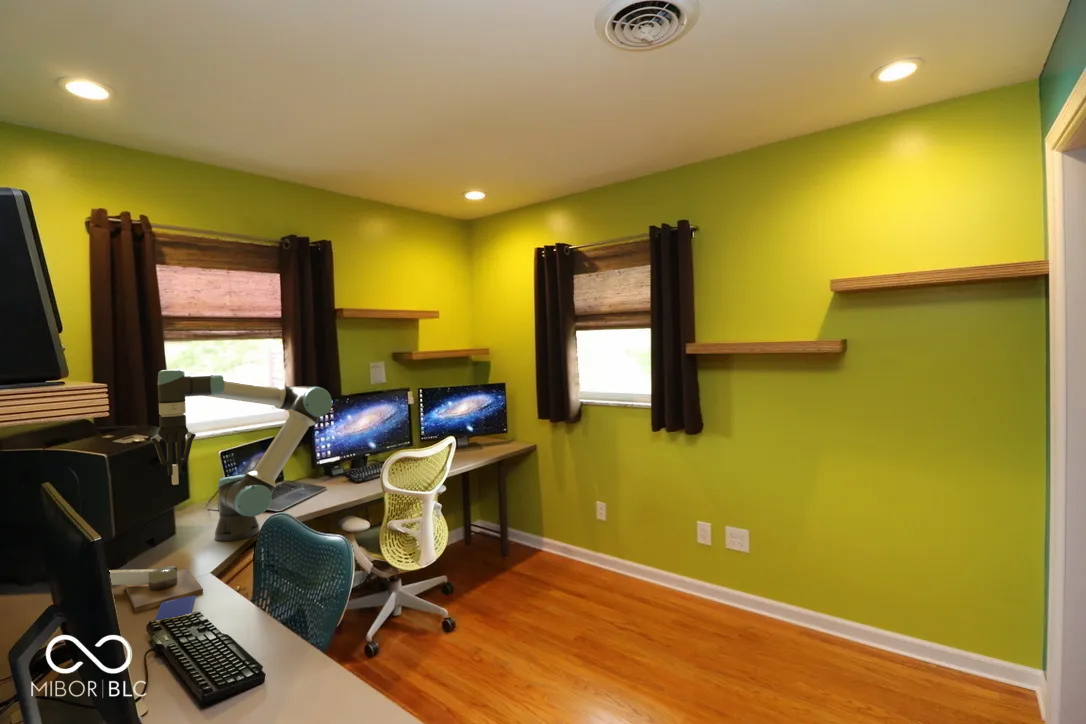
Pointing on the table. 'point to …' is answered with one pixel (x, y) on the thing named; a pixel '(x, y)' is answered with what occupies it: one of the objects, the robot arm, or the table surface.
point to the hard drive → (176, 607)
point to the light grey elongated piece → (146, 577)
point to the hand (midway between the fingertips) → (175, 483)
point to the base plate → (163, 592)
